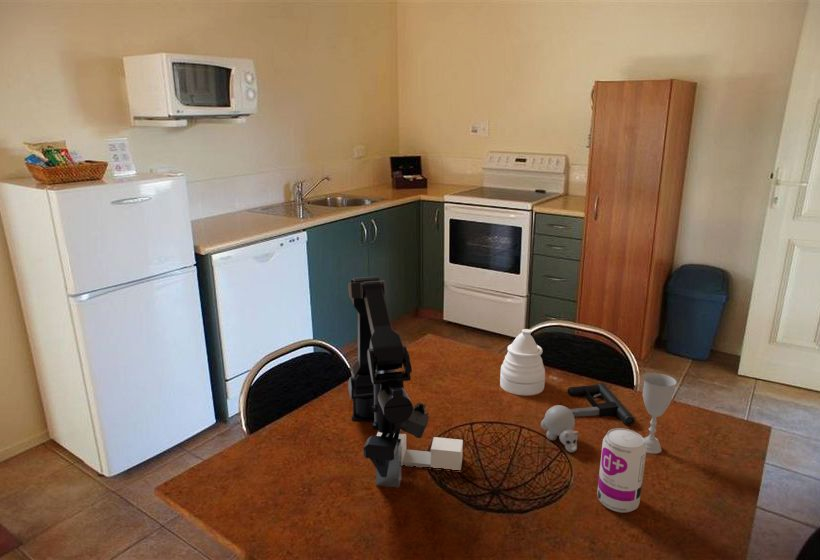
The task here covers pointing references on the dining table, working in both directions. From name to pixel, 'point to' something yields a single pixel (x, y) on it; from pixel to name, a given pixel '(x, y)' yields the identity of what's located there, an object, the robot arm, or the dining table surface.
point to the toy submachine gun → (601, 409)
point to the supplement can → (621, 470)
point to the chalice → (656, 403)
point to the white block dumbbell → (433, 454)
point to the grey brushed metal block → (392, 470)
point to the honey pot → (523, 366)
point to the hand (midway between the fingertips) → (388, 463)
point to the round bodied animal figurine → (561, 426)
